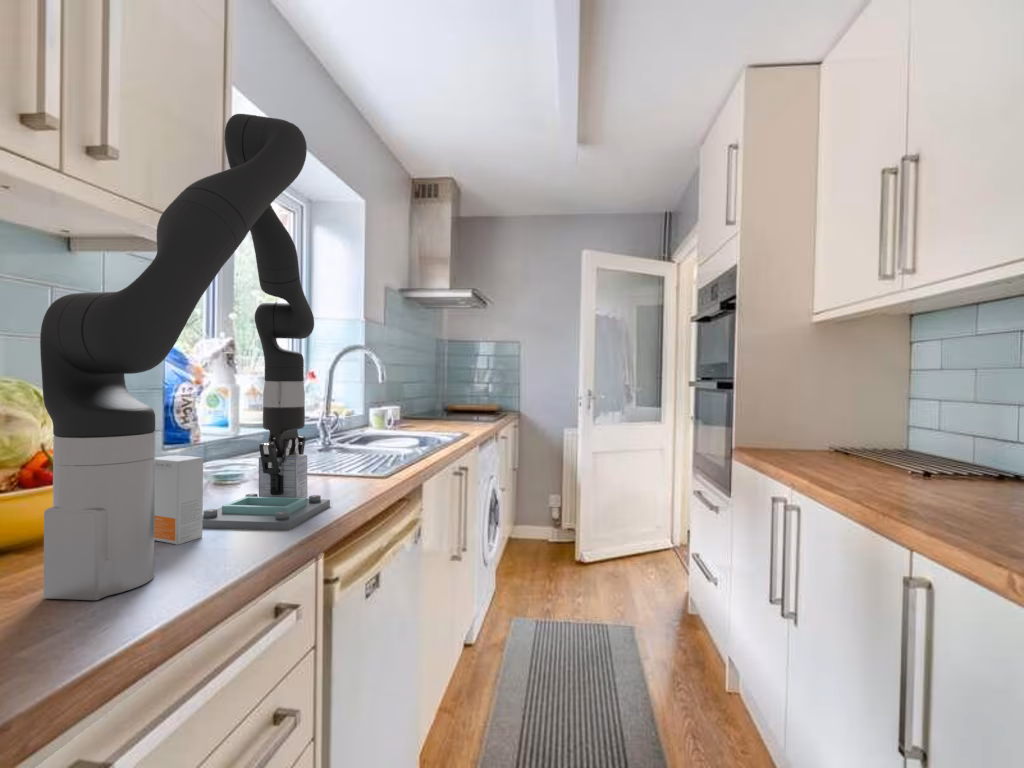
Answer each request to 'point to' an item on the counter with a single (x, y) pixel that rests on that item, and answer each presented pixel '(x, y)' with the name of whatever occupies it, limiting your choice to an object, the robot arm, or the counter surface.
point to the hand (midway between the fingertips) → (283, 491)
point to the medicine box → (287, 478)
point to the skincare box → (178, 498)
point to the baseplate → (264, 512)
